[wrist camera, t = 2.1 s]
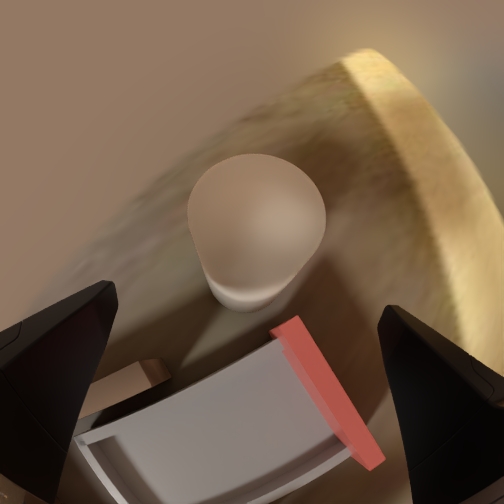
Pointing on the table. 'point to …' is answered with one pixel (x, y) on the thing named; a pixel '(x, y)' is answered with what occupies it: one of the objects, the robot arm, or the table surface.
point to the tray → (235, 431)
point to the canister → (254, 227)
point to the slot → (118, 392)
